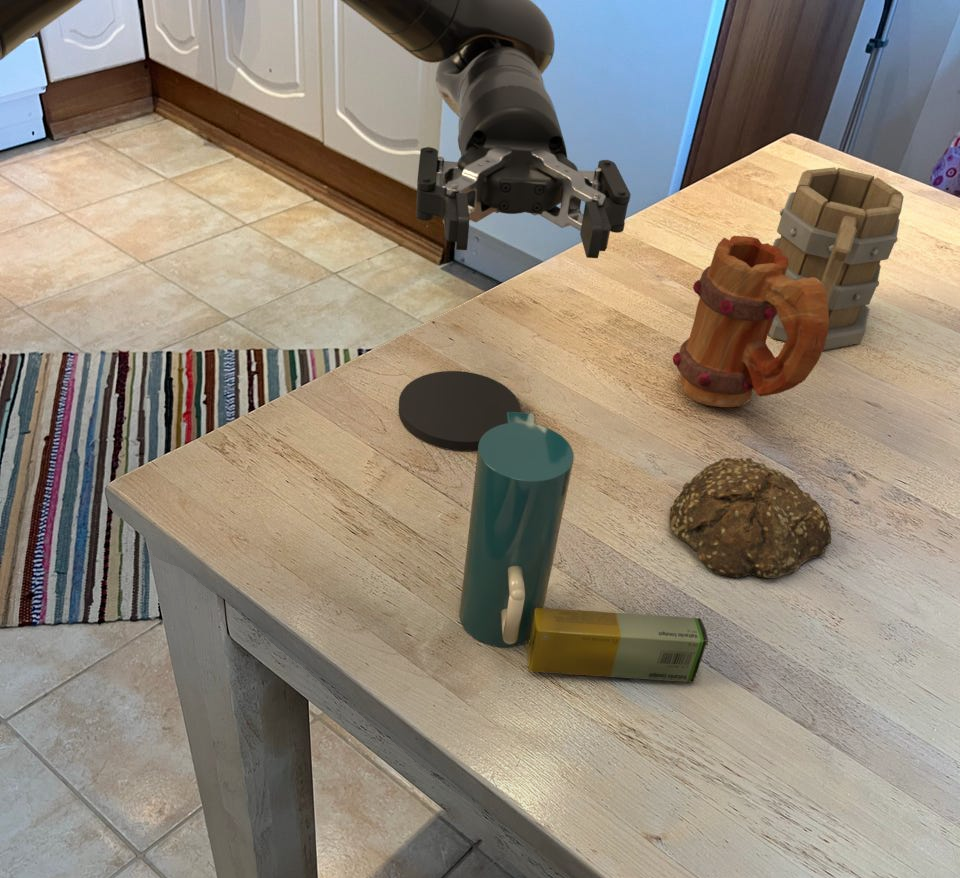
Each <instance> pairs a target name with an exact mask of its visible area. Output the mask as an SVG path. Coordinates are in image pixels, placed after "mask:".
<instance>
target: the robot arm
mask: <svg viewBox="0 0 960 878" xmlns="http://www.w3.org/2000/svg"><path fill="white" fill-rule="evenodd" d="M82 1H83V0H0V61H2V60H4V58H6V57H7V56H9V54H11V53H12V52H13V51H14V50H16V49H17V48H18V47H20V46H21V45H22V44H23V43H25V42H27V41H28V40H29V39H30V38H31V37H33V36H35V35H36V34H37V33H38V32H39V33H40V31H42V30H43V29H44V28H45V27H47V26H49V25H50V24H52V23H53V22H55V21H56V20H57V19H59V18H60V17H61V16H63V15H64V14H66V13H67V12H68V11H70V10H71V9H73V8H74V7H76V6H77V5H79V4H80V3H81V2H82ZM340 1H341V2H342V3H344V4H345V5H346V6H347V7H348V8H350V9H352V10H353V11H354V12H355V13H357V14H358V15H360V16H361V17H362V18H363V19H365V20H366V21H367V22H368V23H370V24H371V25H372V26H373V27H375V28H376V29H377V30H378V31H380V32H381V33H383V34H384V35H385V36H386V37H388V38H390V39H391V41H393V42H395V43H396V44H397V45H399V46H400V47H401V48H403V49H404V50H405V51H406V52H408V53H409V54H410V55H412V56H413V57H414V58H416V59H418V60H420V61H423V62H425V63H429V64H430V63H431V64H434V63H435V64H436V63H438V65H437V67H436V71H435V84H436V88H437V90H438V92H439V94H440V96H441V98H442V100H443V101H444V103H445V104H446V106H447V107H448V108H449V109H450V110H451V111H452V112H453V113H454V114H455V115H456V116H457V117H458V136H457V144H458V149H459V152H460V157H459V158H458V161H451V160H449V161H448V160H445V158H444V157H442V156H439V151H438V149H436V148H434V147H431V146H426V147H422V148H420V151H419V161H418V169H417V170H418V171H417V179H416V182H417V183H416V203H415V204H416V205H415V217H416V218H417V219H418V220H420V221H427V222H428V221H432V220H434V218H435V216H436V217H439V218H441V219H442V223H443V228H444V239H446V241H447V242H449V243H455V250H456V251H467V250H468V243H469V230H470V221H471V222H474V223H478V222H479V221H481V220H483V219H484V218H486V217H488V216H490V215H491V214H493V213H495V214H499V213H501V214H508V215H517V214H524V213H527V214H531V215H532V216H538V215H539V216H541V217H542V218H544V219H546V220H547V221H549V222H551V223H552V224H554V225H556V226H558V227H559V228H562V229H563V228H566V227H569V226H571V227H573V228H574V229H576V230H578V231H580V232H579V235H580V239H581V242H582V243H581V244H582V247H583V250H584V253H585V257H586V258H587V259H598V258H599V256H600V252H606V250H607V249H608V244H609V239H610V234H611V233H615V234H618V233H623V232H624V231H625V230H624V229H625V224H626V217H627V212H628V206H629V203H630V201H631V192H630V190H629V188H628V186H627V184H626V182H625V180H624V178H623V175H622V174H621V173H620V170H619V168H618V166H617V164H616V163H615V162H614V161H612V160H609V159H601V160H599V161H598V163H597V167H596V168H595V169H594V170H579V169H578V167H577V164H575V163H574V162H573V161H571V160H569V158H568V153H567V147H566V142H565V140H564V136H563V133H562V130H561V126H560V122H559V118H558V116H557V112H556V109H555V105H554V103H553V101H552V99H551V96H550V95H549V93H548V92H547V89H546V85H545V82H544V79H543V76H542V75H543V74H544V72H545V71H546V70H547V68H548V67H549V65H551V62H552V60H553V57H554V53H555V45H556V43H555V36H554V35H555V34H554V31H553V27H552V25H551V23H550V21H549V19H548V17H547V16H546V14H545V13H544V12H543V10H541V8H540V7H539V6H538V5H537V4H536V3H534V2H533V1H532V0H340ZM582 202H584V203H585V204H584V209H583V213H582V211H581V204H582ZM558 205H560V207H559V206H558Z"/></svg>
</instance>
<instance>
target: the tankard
mask: <svg viewBox="0 0 960 878" xmlns="http://www.w3.org/2000/svg"><path fill="white" fill-rule="evenodd" d="M903 203H904V194H903V193H902V192H901V191H899V190H898V189H896V188H895V187H893V186H892V185H890V184H888V183H887V182H885V180H882V178H879V177H875V176H874V175H871V174H868V173H864V172H863V173H862V172H859V171H854V170H850V169H846V168H843V167H837V168H836V167H824V168H816V169H806V170H805V171H803V172H802V173H801V175H800V178H799V180H798V183H797V186H796V189H795V191H793V192H790V193H789V195H788V197H787V200H786V202H785V205H784V208H781V209H780V211H779V216H780V219H779V222H778V226H777V229H776V232H777V233H778V235H780V237H779V238H775V239H774V241H773V244H772V246H776V247H778V248H779V249H780V250H781V251H782V255H785V256H786V257H787V258H788V267H787V270H786V274H785V276H786V277H788V278H790V279H792V280H794V281H795V280H800V279H803V278H811V277H815V278H817V279H818V280H819V281H820V282H821V283H822V284H823V286H824V288H825V290H826V296H827V303H828V313H829V324H828V334H827V337H826V341H825V346H824V349H823V351H829V350H832V349H839V348H844V347H849V346H853V344H855V345H859V344H861V342H862V340H863V338H864V336H865V333H866V329H867V324H868V319H869V314H870V308H869V307H868V305H870V304H871V301H872V298H873V295H874V294H875V292H876V289H877V288H878V287H879V286H880V281H879V277H880V272H881V267H882V266H881V261H887V260H889V259H890V258H889V257H890V255H891V253H892V251H893V248H894V246H895V244H896V243H897V242H898V232H899V227H900V223H901V222H900V221H901V220H900V215H901V213H902V208H903ZM768 336H770V337H771V338H772V339H774V340H778V341H781V342H784V343H785V342H786V340H787V334H786V331H785V329H784V327H783V325H782V323H781V320H780V318H779V315H778V314H777V315H776V316H775V317H774V320H773V323H772V326H771V328H770V331H769V333H768ZM848 345H849V346H848ZM843 346H844V347H843ZM838 347H839V348H838Z"/></svg>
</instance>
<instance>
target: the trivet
mask: <svg viewBox="0 0 960 878" xmlns="http://www.w3.org/2000/svg"><path fill="white" fill-rule="evenodd" d="M521 409H522V407H521V404H520V401H519V399H518V397H517V396H516V395H515V394H514V393H513V391H512V390H511V389H509V388H508V387H507V386H506V385H504V384H503V383H501V382H499V381H498V380H496V379H493V378H491V377H489V376H486V375H483V374H479V373H474V372H470V371H461V370H442V371H435V372H430V373H426V374H424V375H421V376H419V377H416V378H415V379H412V381H410V382H409V383H407V384H406V385H405V386H404V388H403V389H402V391H401V392H400V395H399V397H398V409H397V410H398V417H399V419H400V422H401V424H402V425H403V427H404V428H405V430H406V431H408V432H409V433H410V434H411V435H412V436H414V437H415V438H417V439H418V440H420V441H422V442H424V443H425V444H428V445H431V446H433V447H437V448H441V449H443V450H444V449H445V450H451V451H458V452H473V451H475V452H476V451H478V445H479V441H480V439H481V437H482V436H483V435H484V434H485V433H486V432H487V431H489V430H490V429H492V428H494V427H496V426H499V425H502V424H506V418H507V413H508V412H516V413H522V412H521V411H522V410H521Z"/></svg>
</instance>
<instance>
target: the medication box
mask: <svg viewBox="0 0 960 878" xmlns="http://www.w3.org/2000/svg"><path fill="white" fill-rule="evenodd" d="M707 632H708V631H707V630H706V627H705V625H704V623H703V620H702V618H701V617H700V618H698V617H689V616H688V617H687V616H671V615H657V614H643V613H627V612H613V611H611V612H610V611H595V610H582V609H568V608H567V609H565V608H551V607H550V608H549V607H544V608H538V607H536V609H534V616H533V621H532V626H531V631H530V637H529V640H528V643H526V645H525V648H524V649H525V650H526V660H527V665H528V669H529V672H531V673H533V672H534V673H545V674H546V673H549V674H560V675H561V674H563V675H576V676H592V677H606V678H607V677H608V678H609V677H610V678H622V679H638V680H652V681H667V682H668V681H669V682H683V683H691V684H693V683H695V681H696V679H697V674H698V671H699V668H700V665H701V662H702V658H703V656H704V653H705V650H706V647H707V646H708V645H709V644H708V643H709V637H708V633H707Z"/></svg>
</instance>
